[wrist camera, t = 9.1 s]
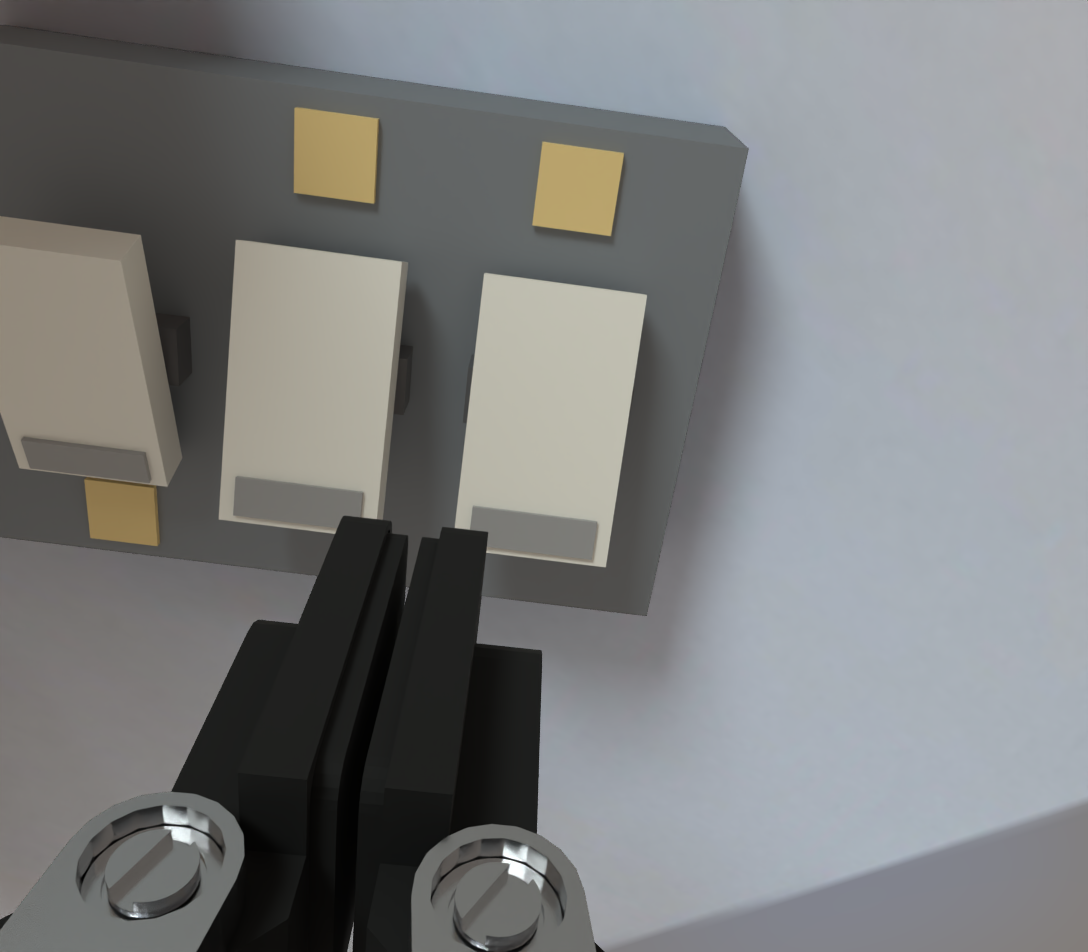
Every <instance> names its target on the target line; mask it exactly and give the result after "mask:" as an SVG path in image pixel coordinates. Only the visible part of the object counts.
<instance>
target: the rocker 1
mask: <svg viewBox="0 0 1088 952" xmlns="http://www.w3.org/2000/svg"><path fill="white" fill-rule="evenodd" d="M0 413H1V416H2V419H3V422H4V425H5V428H6V431H7V434H8V437H9V439H10V442H11V445H12V448H13V451H14V454H15V457H16V460H17V463H18V466H19V468H21V469H29V470H37V471H45V472H53V473H61V474H69V475H77V476H85V477H93V478H101V479H109V480H117V481H125V482H133V483H141V484H149V485H157V486H165V487H168V485H169V483H170V481H171V479H172V477H173V475H174V473H175V471H176V469H177V467H178V465H179V463H180V461H181V460H182V453H181V448H180V443H179V437H178V432H177V427H176V421H175V416H174V410H173V405H172V400H171V394H170V389H169V384H168V378H167V373H166V368H165V362H164V357H163V352H162V346H161V341H160V335H159V330H158V325H157V319H156V314H155V309H154V303H153V298H152V293H151V287H150V282H149V277H148V271H147V266H146V260H145V255H144V250H143V244H142V239H141V235H137V234H130V233H123V232H115V231H108V230H100V229H93V228H85V227H78V226H70V225H63V224H56V223H48V222H41V221H33V220H26V219H18V218H11V217H3V216H0Z"/></svg>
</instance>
